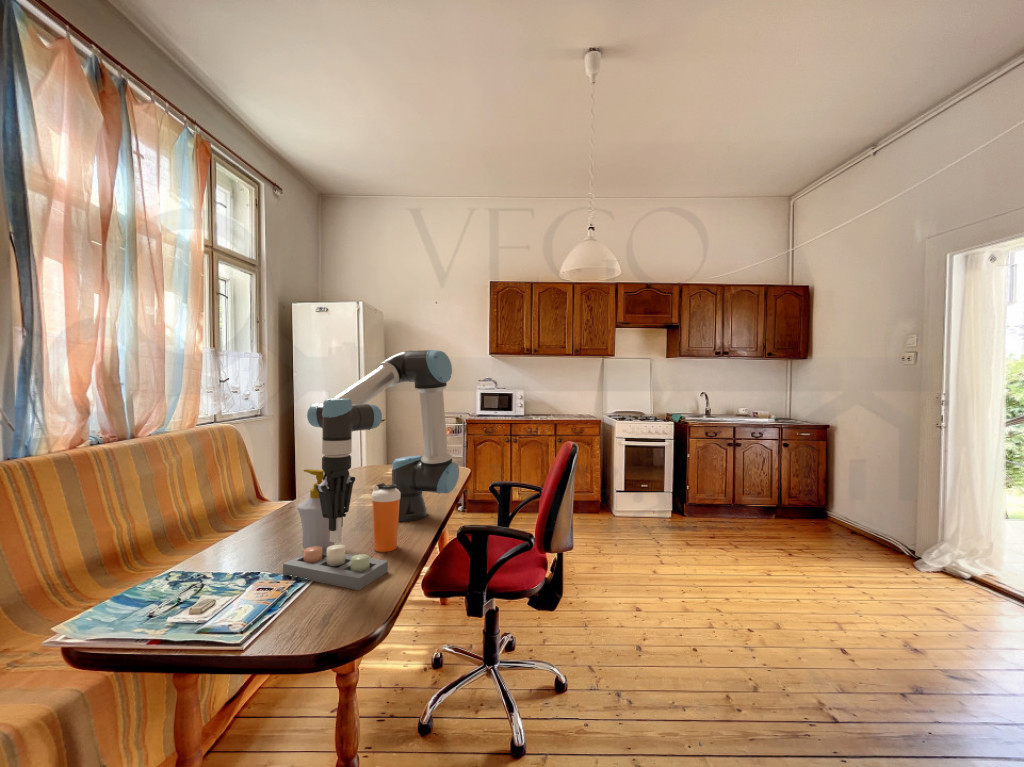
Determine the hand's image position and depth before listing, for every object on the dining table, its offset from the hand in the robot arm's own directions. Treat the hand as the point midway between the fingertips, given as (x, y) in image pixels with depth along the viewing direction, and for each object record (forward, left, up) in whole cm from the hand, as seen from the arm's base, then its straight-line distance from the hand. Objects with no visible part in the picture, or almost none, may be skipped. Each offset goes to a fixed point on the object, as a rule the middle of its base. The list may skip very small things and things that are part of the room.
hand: (335, 541), depth 124 cm
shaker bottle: (-21, +1, -9) cm, 23 cm away
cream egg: (0, 0, -6) cm, 6 cm away
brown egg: (0, -8, -7) cm, 11 cm away
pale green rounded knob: (0, +8, -7) cm, 11 cm away
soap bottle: (-13, -18, -9) cm, 24 cm away
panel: (0, 0, -9) cm, 9 cm away
